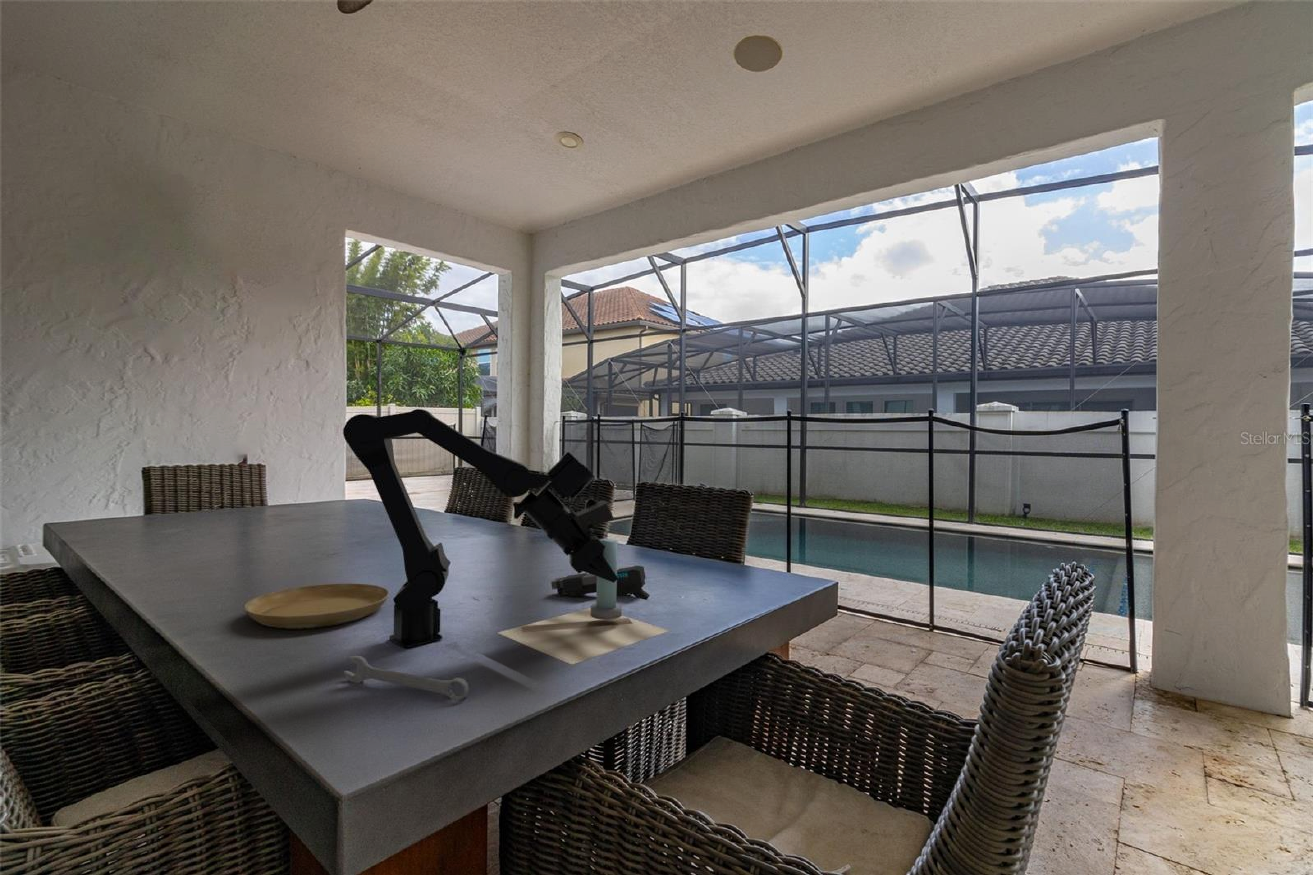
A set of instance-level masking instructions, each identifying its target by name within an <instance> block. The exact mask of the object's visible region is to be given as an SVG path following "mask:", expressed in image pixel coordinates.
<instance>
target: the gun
mask: <svg viewBox="0 0 1313 875" xmlns="http://www.w3.org/2000/svg"><path fill="white" fill-rule="evenodd" d="M617 577H618V579H617V590H616V597H617V596H618V597H619V596H623V595H628V596H631V595H632V596H634V597H635V598H637V599H641V600H645V601H647V600H648V599H649V598H650V596H651V594H649V593H647V591H645V590H644V589H643V588H642V587H644V586H645V585H646V582H645V580H646V573H645V567H644V566H641V565H633V566H628V567H621V568H617ZM550 583H551V584H550V585H551V588H552V590H556V591H557V594H556V595H557V596H558V597H561V596H563V595H570V596H571V597H579V596H586V595H587V594H594V593H596V594H597V576H595V575H592V574H589V573H587V572H584V573H577V574H570V575H566V576H562V577H557V578H555V579H553V580H552V581H551V582H550Z"/></svg>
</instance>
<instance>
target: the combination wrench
mask: <svg viewBox="0 0 1313 875" xmlns="http://www.w3.org/2000/svg"><path fill="white" fill-rule="evenodd" d="M347 660H349V661H351V663H353V664H355V665H356V672H355V673H353V672H351V671H348V670H345V671H343V674H344V675H345V677H346V678H347V679H348V681H350V682H351V683H357V684H361V683H362V682H364V681H367V680H371V679H372V680H377V681H381V682H386V683H389V684H396V685H401V686H405V687H410V688H413V689H418V690H423V691H429V692H434V693H437V694H442V695H445V696H447V697H448V698H449V699H450V700H457V701H458V700H459V701H462V700H463V699H464V698H466V696H468V694H469V690H470V688H469V684H468V682H467V681H466V679H464V678H461V677H454V678H453V679H446V680H445V679H444V680H443V679H437V678H433V677H432V678H431V677H427V676H421V675H415V674H410V673H405V672H399V671H395V670H394V671H393V670H389V669H388V670H387V669H383V668H376V667H373V666H372V665H371V664H369V663H368V661H367V659H366V658H365V657H363V656H361V655H352V656H348V657H347ZM454 683H458V684H460V685H461V686H462V688H463V694H462V695H456V694H455V693H454V692H453V691H454V690H452V685H453V684H454Z"/></svg>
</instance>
